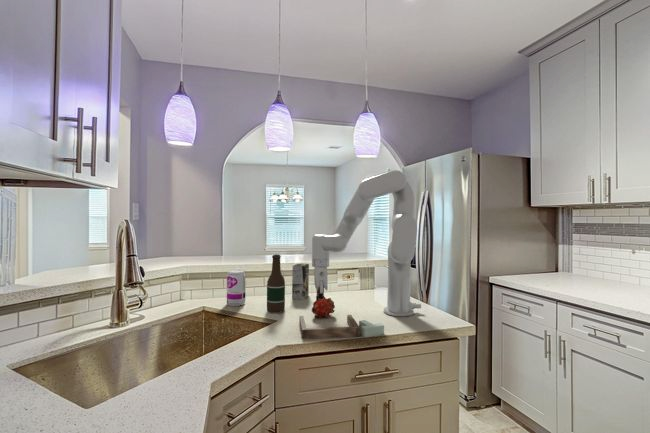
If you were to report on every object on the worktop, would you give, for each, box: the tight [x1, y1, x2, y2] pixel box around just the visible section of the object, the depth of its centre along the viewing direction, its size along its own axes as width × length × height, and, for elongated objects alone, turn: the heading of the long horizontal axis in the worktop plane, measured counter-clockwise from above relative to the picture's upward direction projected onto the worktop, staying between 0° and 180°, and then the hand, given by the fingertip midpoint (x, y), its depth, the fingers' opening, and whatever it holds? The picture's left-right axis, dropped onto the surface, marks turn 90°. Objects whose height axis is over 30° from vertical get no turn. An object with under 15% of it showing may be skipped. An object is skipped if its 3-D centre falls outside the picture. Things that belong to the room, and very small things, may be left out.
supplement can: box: [226, 269, 247, 307], centre depth 161 cm, size 8×8×15 cm
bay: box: [298, 314, 361, 340], centre depth 128 cm, size 20×16×3 cm
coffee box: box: [291, 263, 310, 300], centre depth 176 cm, size 9×6×16 cm
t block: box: [358, 319, 385, 338], centre depth 127 cm, size 8×8×3 cm
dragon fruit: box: [311, 296, 336, 319], centre depth 144 cm, size 8×8×12 cm
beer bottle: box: [266, 254, 286, 314], centre depth 151 cm, size 8×8×24 cm
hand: (319, 304), depth 154 cm, fingers closed
